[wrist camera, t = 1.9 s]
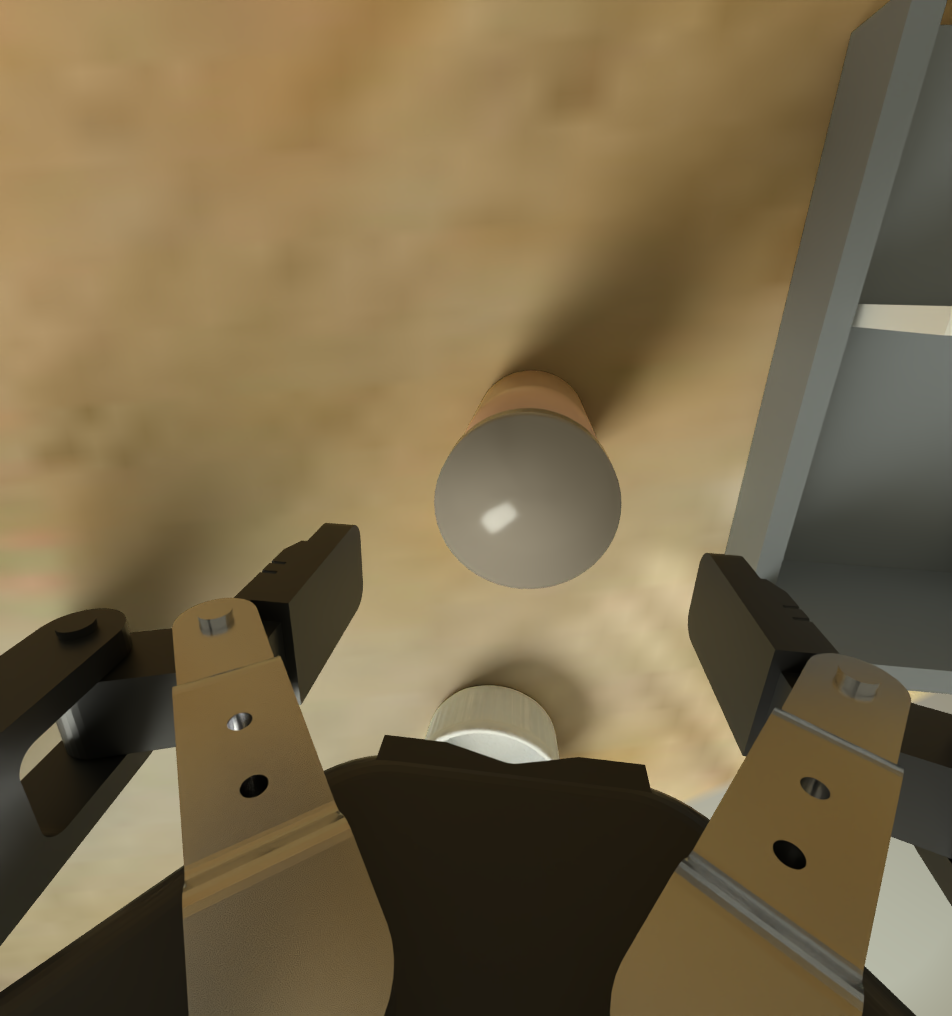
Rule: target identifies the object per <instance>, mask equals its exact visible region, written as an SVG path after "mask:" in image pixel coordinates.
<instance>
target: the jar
mask: <svg viewBox="0 0 952 1016" xmlns="http://www.w3.org/2000/svg"><path fill="white" fill-rule="evenodd" d="M434 505H435V515H436V520H437V524H438V527H439V530H440V533H441V535H442V537H443V539H444V541H445V543H446V545H447V546H448V548H449V549H450V551H451V552H452V553H453V555H454V556H455V557H456V558H457V559H458V560H459V561H460V562H461V563H462V564H463V565H464V566H465V567H467V568H468V569H469V570H471V571H472V572H474V573H475V574H476V575H478V576H480V577H482V578H484V579H486V580H488V581H490V582H493V583H496V584H498V585H502V586H506V587H511V588H518V589H538V588H546V587H551V586H555V585H558V584H561V583H564V582H567V581H569V580H571V579H573V578H575V577H577V576H579V575H580V574H582V573H583V572H585V571H586V570H587V569H589V568H590V567H591V566H592V565H594V564H595V563H596V562H597V561H598V560H599V559H600V557H601V556H602V555H603V554H604V552H605V551H606V550H607V548H608V547H609V545H610V543H611V542H612V540H613V538H614V536H615V533H616V530H617V528H618V524H619V520H620V515H621V492H620V487H619V483H618V479H617V476H616V474H615V471H614V469H613V466H612V464H611V462H610V460H609V457H608V456H607V454H606V452H605V450H604V448H603V447H602V445H601V444H600V443H599V441H598V440H597V438H596V435H595V433H594V430H593V428H592V426H591V423H590V421H589V419H588V416H587V414H586V412H585V409H584V407H583V404H582V402H581V400H580V398H579V396H578V395H577V393H576V392H575V391H574V389H573V388H572V387H571V386H570V385H569V384H568V383H566V382H565V381H564V380H562V379H561V378H559V377H557V376H555V375H553V374H550V373H547V372H543V371H536V370H526V371H520V372H516V373H513V374H510V375H508V376H506V377H504V378H502V379H501V380H499V381H498V382H497V383H495V384H494V385H493V386H492V387H491V388H490V389H489V390H488V391H487V393H486V394H485V396H484V397H483V399H482V401H481V403H480V405H479V407H478V408H477V410H476V412H475V414H474V416H473V418H472V420H471V422H470V424H469V425H468V427H467V429H466V431H465V433H464V435H463V436H462V437H461V438H460V439H459V441H458V442H457V443H456V445H455V446H454V447H453V449H452V451H451V453H450V454H449V456H448V458H447V460H446V462H445V464H444V466H443V467H442V469H441V472H440V475H439V477H438V480H437V485H436V489H435V500H434Z"/></svg>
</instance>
